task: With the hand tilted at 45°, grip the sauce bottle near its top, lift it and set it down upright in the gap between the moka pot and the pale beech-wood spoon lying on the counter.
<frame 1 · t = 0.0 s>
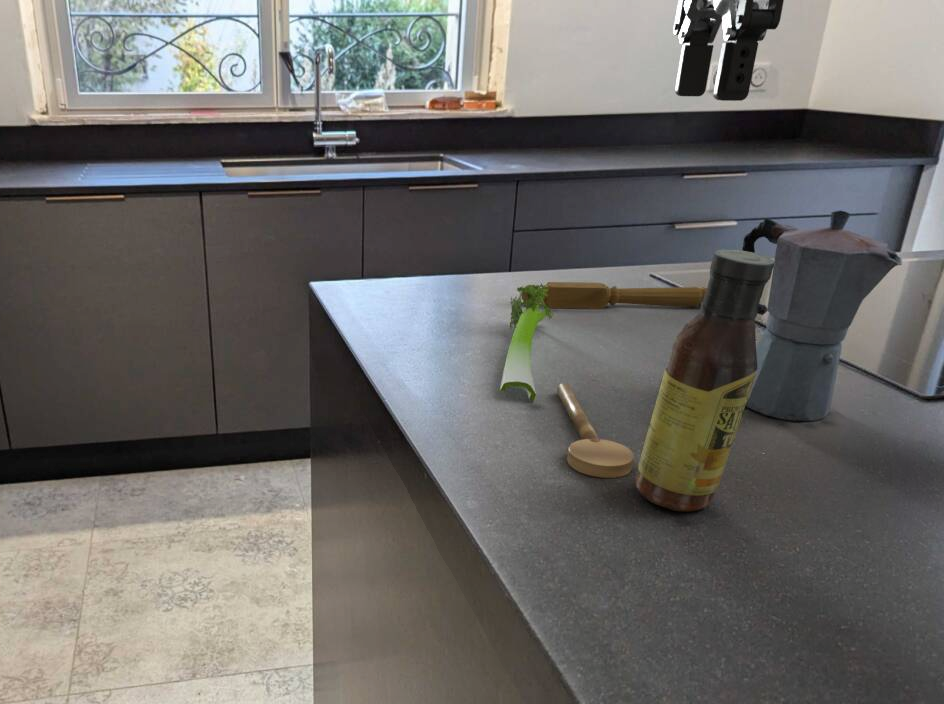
hand: (708, 98, 63), 30 cm above the counter, tool pointing down, fingers open, 8 cm apart
tap handle: (623, 307, 121), on the counter
celery stalk: (526, 358, 100), on the counter
moka pot: (776, 406, 86), on the counter
sauce bottle: (671, 496, 68), on the counter
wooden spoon: (584, 436, 79), on the counter
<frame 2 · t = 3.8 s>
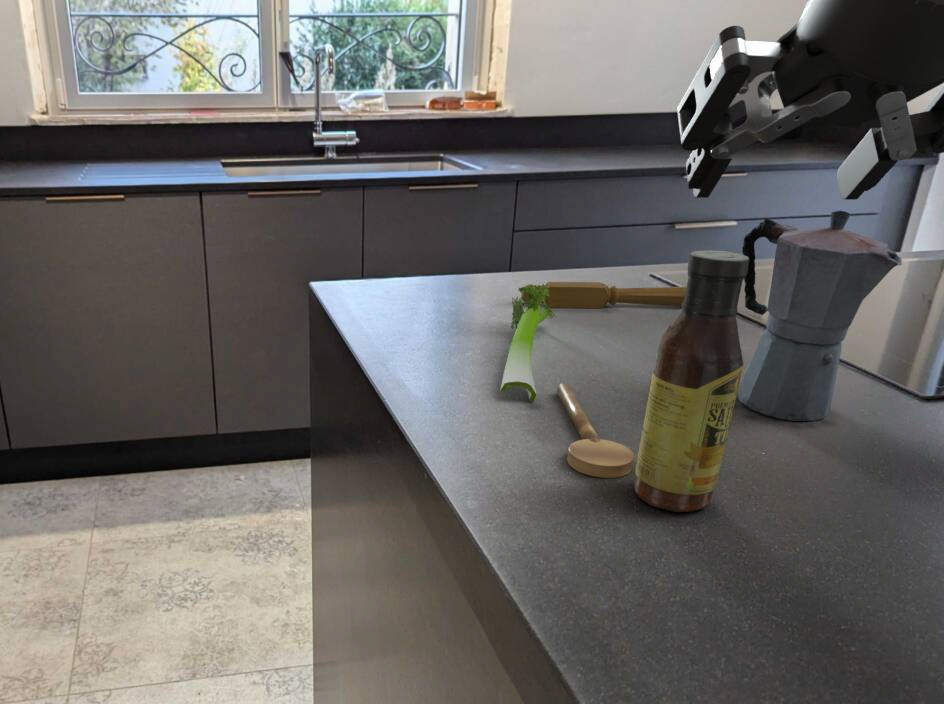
hand: (771, 186, 49), 26 cm above the counter, tool tilted 45°, fingers open, 8 cm apart
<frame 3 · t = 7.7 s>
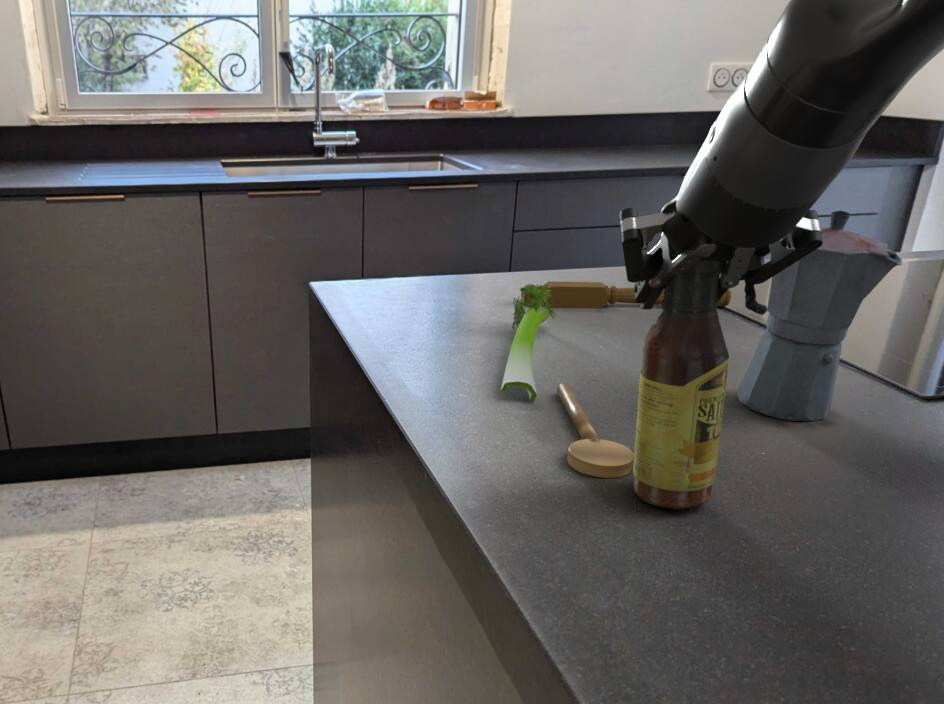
hand: (671, 299, 65), 16 cm above the counter, tool tilted 45°, fingers closed on sauce bottle, 3 cm apart
sauce bottle: (671, 496, 68), on the counter, touching gripper
everything else where it was.
when the fingers open (15 cm above the counter, at t = 17.0 s): sauce bottle stays where it is, on the counter.
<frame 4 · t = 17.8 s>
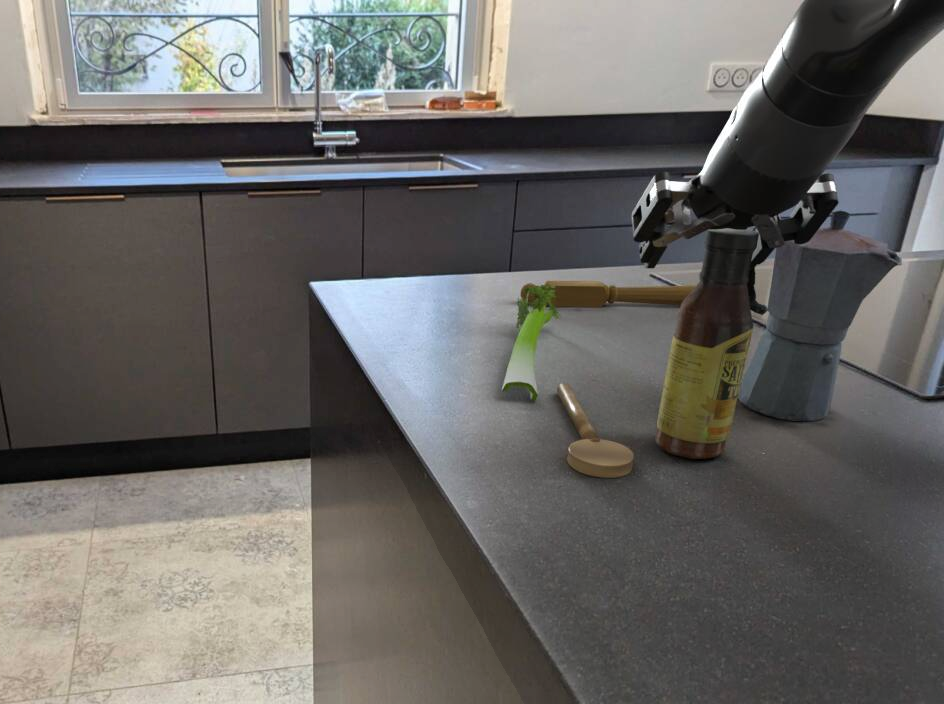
hand: (696, 260, 73), 17 cm above the counter, tool tilted 45°, fingers open, 8 cm apart
sauce bottle: (688, 449, 77), on the counter
everything else where it was.
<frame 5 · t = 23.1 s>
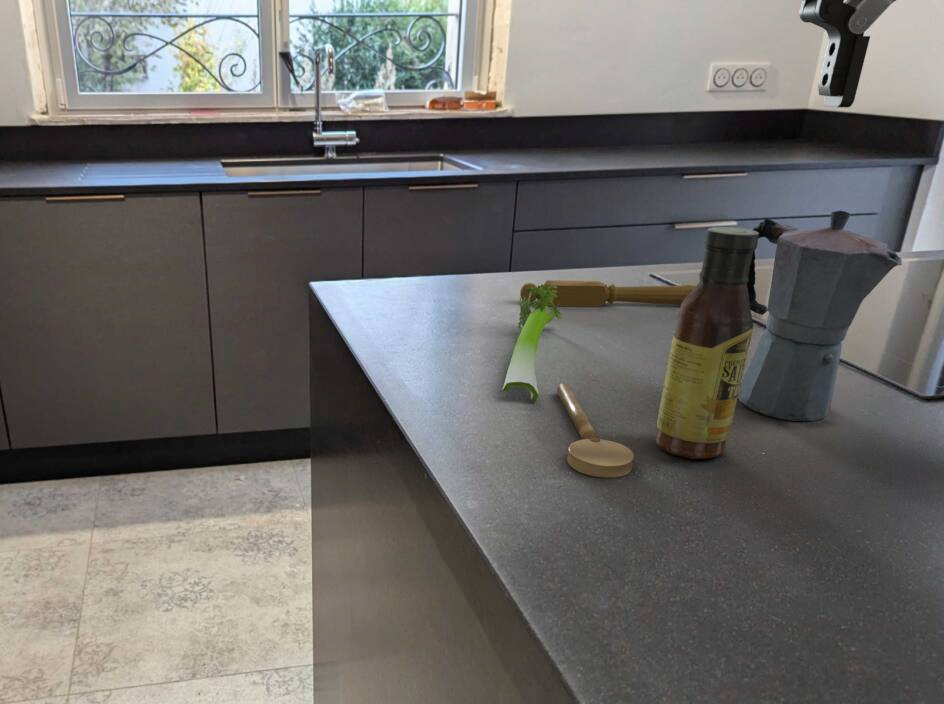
hand: (911, 107, 48), 30 cm above the counter, tool pointing down, fingers open, 8 cm apart
nothing on the counter moved.
at the end: sauce bottle inside the target area (2.5 cm from its centre), on the counter; sauce bottle tilted 0°; moka pot moved 0.2 cm from its start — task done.
